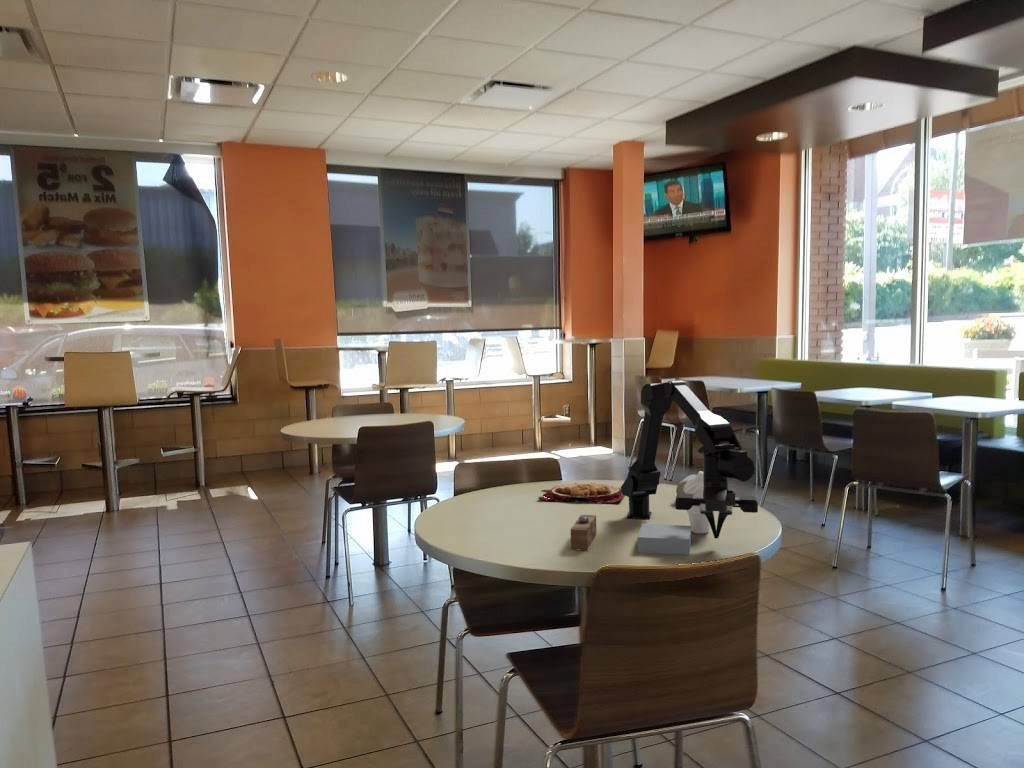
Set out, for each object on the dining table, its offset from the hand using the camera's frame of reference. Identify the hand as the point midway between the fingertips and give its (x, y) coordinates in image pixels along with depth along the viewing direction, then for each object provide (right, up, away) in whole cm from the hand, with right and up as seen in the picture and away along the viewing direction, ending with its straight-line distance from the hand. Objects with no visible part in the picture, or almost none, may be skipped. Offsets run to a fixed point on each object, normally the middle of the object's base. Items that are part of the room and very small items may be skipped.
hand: (716, 538), depth 174 cm
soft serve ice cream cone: (0, -2, +15) cm, 15 cm away
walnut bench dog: (-31, -3, +9) cm, 32 cm away
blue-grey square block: (-12, -3, +3) cm, 12 cm away
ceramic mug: (+7, +1, +47) cm, 47 cm away
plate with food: (-25, 0, +61) cm, 66 cm away
